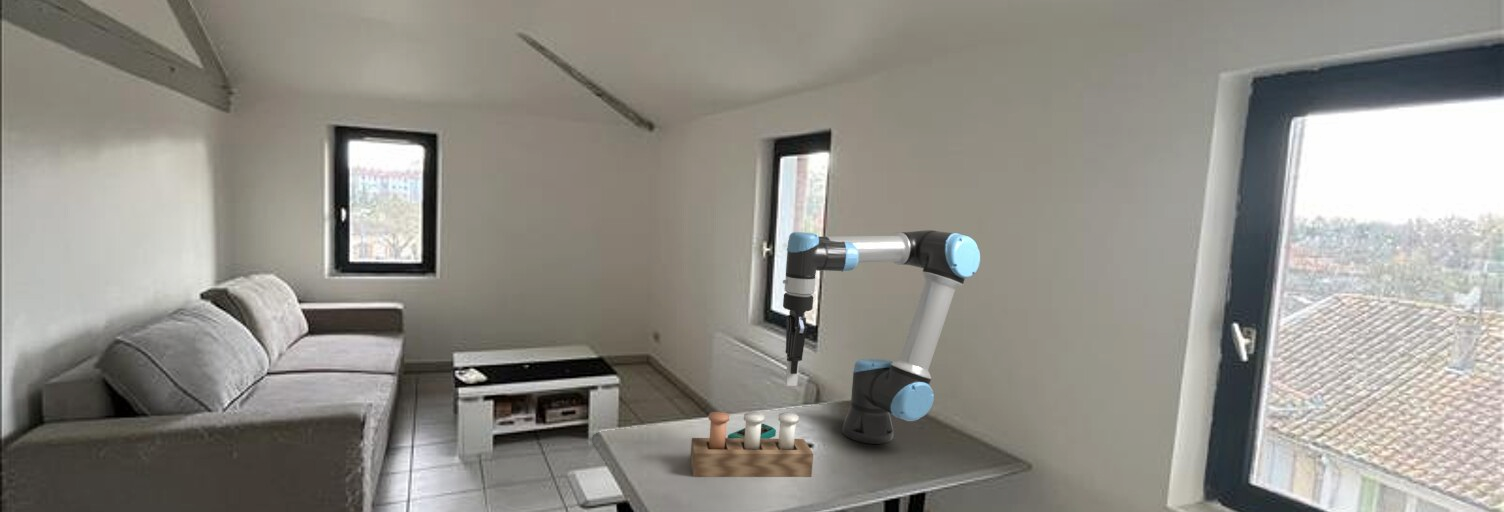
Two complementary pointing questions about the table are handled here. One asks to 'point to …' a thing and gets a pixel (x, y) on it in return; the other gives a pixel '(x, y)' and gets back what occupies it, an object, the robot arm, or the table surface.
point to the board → (750, 459)
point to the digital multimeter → (765, 434)
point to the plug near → (787, 430)
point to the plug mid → (752, 430)
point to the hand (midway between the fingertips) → (791, 384)
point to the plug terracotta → (718, 430)
